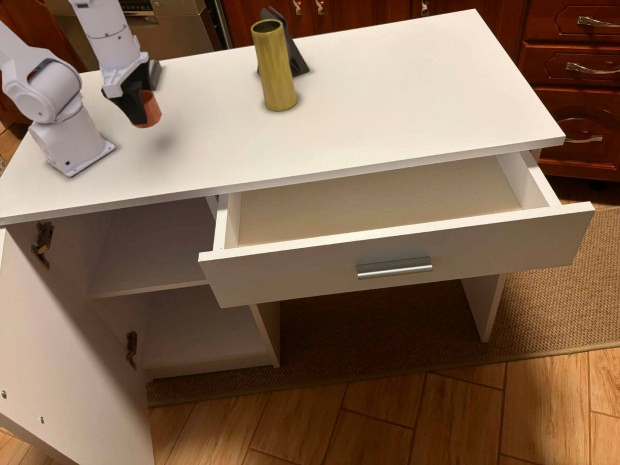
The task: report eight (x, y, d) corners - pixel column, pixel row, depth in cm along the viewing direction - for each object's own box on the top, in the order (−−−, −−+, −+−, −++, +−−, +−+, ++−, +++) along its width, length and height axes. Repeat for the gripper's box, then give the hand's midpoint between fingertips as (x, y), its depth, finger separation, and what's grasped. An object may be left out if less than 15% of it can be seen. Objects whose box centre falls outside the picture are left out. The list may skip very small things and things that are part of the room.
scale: (112, 96, 97) (107, 85, 95) (121, 74, 103) (116, 63, 102) (155, 90, 97) (151, 78, 95) (161, 68, 103) (157, 56, 101)
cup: (143, 133, 74) (133, 111, 71) (125, 123, 77) (115, 101, 74) (169, 117, 76) (160, 95, 73) (150, 108, 79) (141, 86, 76)
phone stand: (268, 86, 92) (255, 25, 84) (257, 73, 96) (243, 14, 87) (309, 71, 94) (301, 10, 85) (297, 59, 98) (288, -1, 89)
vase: (293, 111, 85) (279, 34, 75) (261, 111, 87) (243, 35, 76) (300, 92, 89) (288, 16, 79) (269, 93, 91) (253, 18, 80)
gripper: (124, 49, 60) (161, 136, 70) (144, 2, 70) (174, 85, 80) (70, 57, 61) (115, 143, 71) (97, 10, 71) (133, 91, 81)
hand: (144, 113), depth 76 cm, fingers closed on cup, 5 cm apart
